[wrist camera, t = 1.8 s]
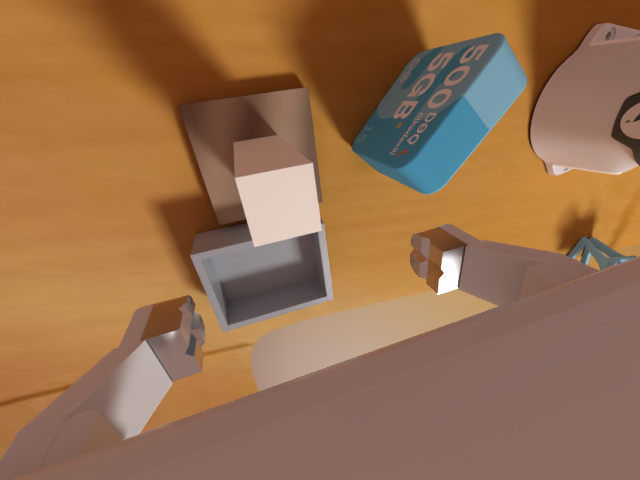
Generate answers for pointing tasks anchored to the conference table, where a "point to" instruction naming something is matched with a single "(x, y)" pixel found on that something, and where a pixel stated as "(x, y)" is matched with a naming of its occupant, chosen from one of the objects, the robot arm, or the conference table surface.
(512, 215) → the conference table surface
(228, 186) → the stud plate
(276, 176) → the strut
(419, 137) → the data package
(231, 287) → the bin
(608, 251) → the light blue frame stand
